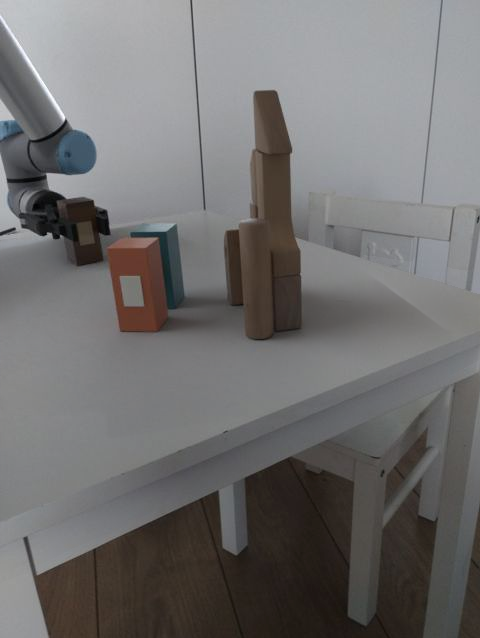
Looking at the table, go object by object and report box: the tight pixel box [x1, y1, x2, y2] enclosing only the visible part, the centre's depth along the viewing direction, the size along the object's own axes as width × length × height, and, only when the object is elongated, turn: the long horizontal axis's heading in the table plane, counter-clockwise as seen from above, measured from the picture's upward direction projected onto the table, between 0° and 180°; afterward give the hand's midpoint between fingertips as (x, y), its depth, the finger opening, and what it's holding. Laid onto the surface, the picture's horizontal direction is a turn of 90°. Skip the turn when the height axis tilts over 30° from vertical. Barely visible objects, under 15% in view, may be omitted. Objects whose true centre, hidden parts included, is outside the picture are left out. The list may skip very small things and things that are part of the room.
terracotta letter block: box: [106, 237, 169, 333], centre depth 67 cm, size 5×5×10 cm
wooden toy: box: [223, 89, 303, 340], centre depth 65 cm, size 15×7×25 cm, turn 13°
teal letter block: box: [129, 222, 185, 310], centre depth 73 cm, size 5×5×10 cm
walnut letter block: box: [57, 196, 104, 267], centre depth 94 cm, size 5×5×10 cm
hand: (91, 229), depth 90 cm, fingers closed on walnut letter block, 5 cm apart
